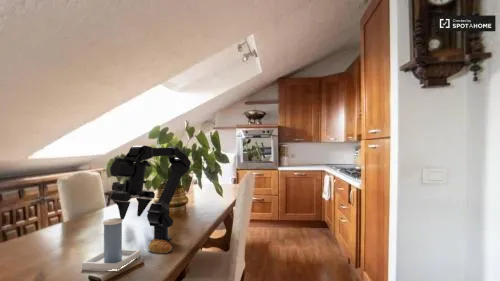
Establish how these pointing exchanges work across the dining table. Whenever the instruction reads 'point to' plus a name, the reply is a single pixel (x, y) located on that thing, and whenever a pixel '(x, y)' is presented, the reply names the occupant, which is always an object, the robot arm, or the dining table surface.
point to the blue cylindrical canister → (112, 240)
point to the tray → (99, 265)
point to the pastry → (160, 246)
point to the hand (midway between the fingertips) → (130, 217)
